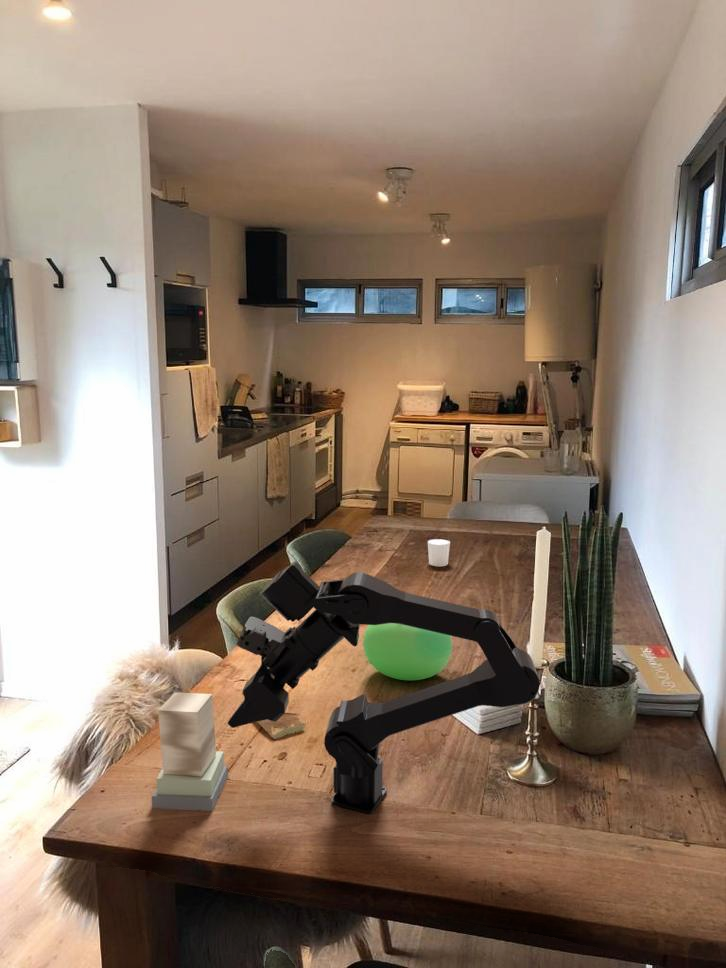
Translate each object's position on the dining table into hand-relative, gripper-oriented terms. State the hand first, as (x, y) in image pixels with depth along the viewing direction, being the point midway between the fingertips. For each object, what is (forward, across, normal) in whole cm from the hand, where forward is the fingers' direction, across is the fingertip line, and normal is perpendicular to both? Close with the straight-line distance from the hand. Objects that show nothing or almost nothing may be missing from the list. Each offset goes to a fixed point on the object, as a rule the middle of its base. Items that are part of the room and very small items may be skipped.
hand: (237, 709), depth 113 cm
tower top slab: (+13, 0, +3) cm, 14 cm away
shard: (+9, -20, +11) cm, 25 cm away
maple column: (+12, 0, +1) cm, 12 cm away
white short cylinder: (-14, -122, +33) cm, 128 cm away
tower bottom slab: (+15, 0, +5) cm, 16 cm away
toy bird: (-8, -43, +27) cm, 52 cm away
